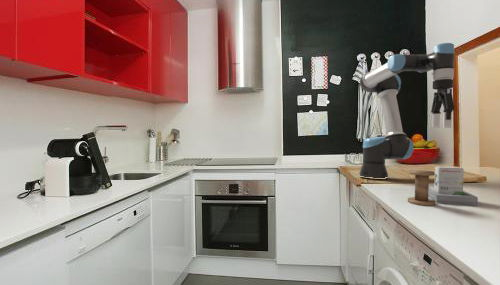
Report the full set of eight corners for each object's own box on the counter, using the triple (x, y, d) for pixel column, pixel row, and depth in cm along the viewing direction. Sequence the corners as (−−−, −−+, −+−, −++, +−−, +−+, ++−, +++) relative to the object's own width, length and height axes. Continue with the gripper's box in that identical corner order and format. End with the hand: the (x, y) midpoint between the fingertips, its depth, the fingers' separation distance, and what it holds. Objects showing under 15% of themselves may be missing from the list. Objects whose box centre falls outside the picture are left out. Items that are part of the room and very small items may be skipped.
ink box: (438, 197, 110) (438, 167, 109) (433, 194, 115) (434, 165, 114) (463, 198, 108) (464, 168, 107) (457, 195, 113) (458, 166, 112)
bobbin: (405, 198, 111) (405, 169, 111) (430, 200, 109) (431, 170, 108) (411, 204, 103) (412, 172, 102) (439, 206, 100) (440, 173, 100)
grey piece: (425, 194, 119) (425, 187, 118) (460, 196, 115) (461, 189, 115) (436, 202, 105) (437, 195, 105) (477, 205, 101) (478, 197, 101)
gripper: (424, 84, 136) (423, 127, 137) (443, 75, 112) (441, 127, 113) (442, 83, 134) (440, 127, 135) (465, 74, 110) (463, 127, 111)
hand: (441, 127), depth 124 cm, fingers open, 13 cm apart
